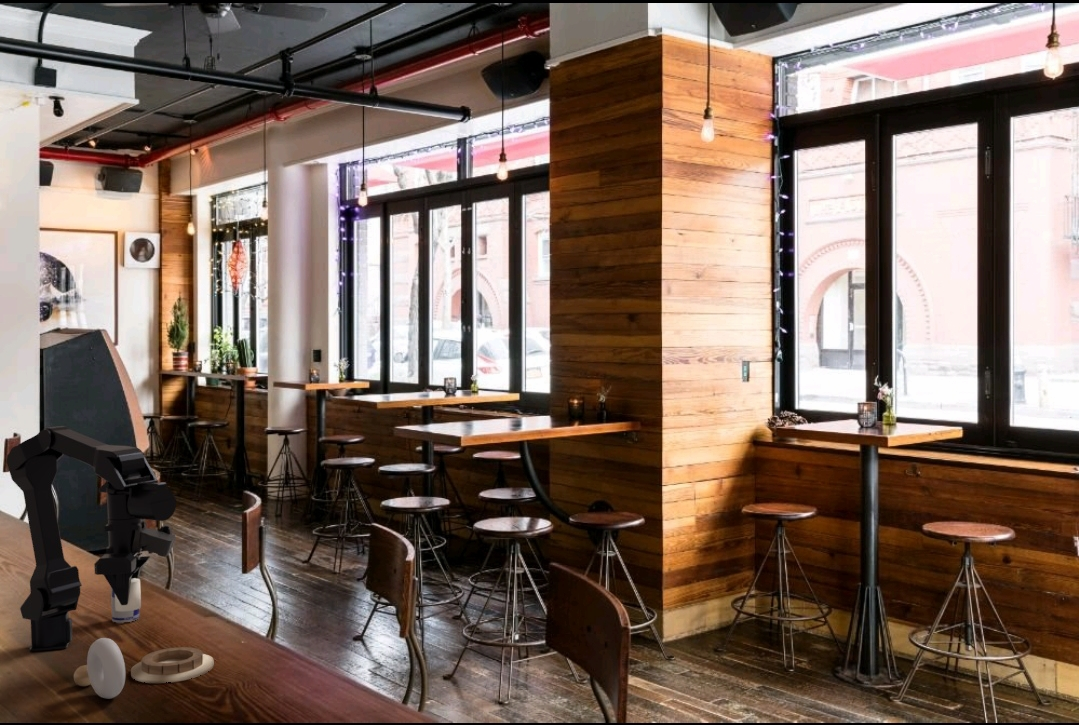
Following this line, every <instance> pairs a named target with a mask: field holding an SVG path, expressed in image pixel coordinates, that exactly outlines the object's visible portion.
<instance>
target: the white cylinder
mask: <svg viewBox="0 0 1079 725" xmlns="http://www.w3.org/2000/svg"><path fill="white" fill-rule="evenodd" d="M141 598H142V594H141V579H140V578H139V579H137V578H131V585H130V593H129V600H128V604H127V605H121V604H120V602H119V600H118V598H117V597H116V595H115V610H116V611H121V612H124V611H133V610H137V609H139V610H140V609H141V608H142V599H141Z"/></svg>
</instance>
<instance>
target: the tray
mask: <svg viewBox="0 0 1079 725" xmlns="http://www.w3.org/2000/svg"><path fill="white" fill-rule="evenodd" d="M214 667H215V665H214V658H213V657H212V656H211V655H208V654H205V653H204V652H203V650H201V649H199V648H197V647H189V646H188V647H187V646H183V647H180V646H178V647H167V648H163V649H159V650H155V651H151V652H150V653H148V654H146V655H143V657H142V660H141V661H138V662H137V663H136V664H135V665H133V666H132V667H131V668H130V676H131V678H132V679H133V680H134V679H135V681H136V682H137V681H138V682H141V683H144V682H145V683H147V684H168V682H171V683H177V682H183V681H188V680H192V679H195V678H197V677H200V675H201V676H203V675H205V674H207V673H209V672H210V671H212V669H213V668H214ZM208 671H209V672H208ZM191 678H192V679H191ZM166 682H167V683H166ZM145 683H144V684H145Z"/></svg>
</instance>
